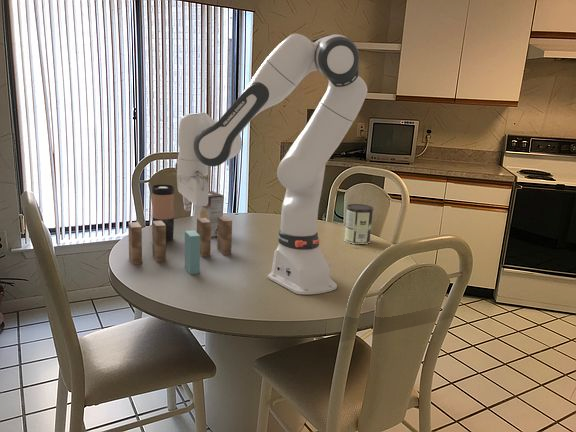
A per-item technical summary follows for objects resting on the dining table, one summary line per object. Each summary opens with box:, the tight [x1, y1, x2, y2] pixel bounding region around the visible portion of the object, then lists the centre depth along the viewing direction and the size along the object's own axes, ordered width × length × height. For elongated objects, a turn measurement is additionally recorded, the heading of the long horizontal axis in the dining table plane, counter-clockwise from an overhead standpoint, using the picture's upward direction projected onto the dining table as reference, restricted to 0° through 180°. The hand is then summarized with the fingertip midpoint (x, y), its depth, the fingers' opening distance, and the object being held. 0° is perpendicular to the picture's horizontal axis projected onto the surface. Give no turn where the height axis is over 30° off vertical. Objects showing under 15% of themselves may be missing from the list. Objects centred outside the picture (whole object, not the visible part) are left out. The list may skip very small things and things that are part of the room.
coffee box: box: [200, 190, 224, 238], centre depth 186 cm, size 9×6×16 cm
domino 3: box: [196, 218, 212, 258], centre depth 162 cm, size 3×6×12 cm, turn 27°
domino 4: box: [216, 215, 233, 256], centre depth 165 cm, size 3×6×12 cm, turn 27°
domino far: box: [127, 221, 143, 265], centre depth 152 cm, size 3×6×12 cm, turn 27°
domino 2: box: [184, 229, 201, 275], centre depth 146 cm, size 3×6×12 cm, turn 27°
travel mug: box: [151, 184, 175, 243], centre depth 174 cm, size 8×8×20 cm
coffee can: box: [343, 203, 374, 245], centre depth 187 cm, size 10×10×14 cm
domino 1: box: [151, 220, 167, 262], centre depth 155 cm, size 3×6×12 cm, turn 27°
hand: (191, 214), depth 143 cm, fingers open, 8 cm apart
